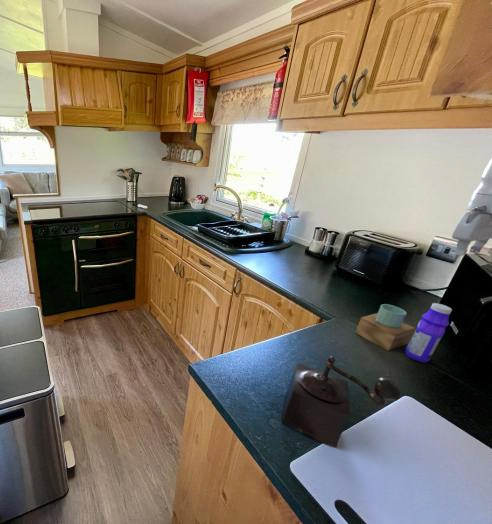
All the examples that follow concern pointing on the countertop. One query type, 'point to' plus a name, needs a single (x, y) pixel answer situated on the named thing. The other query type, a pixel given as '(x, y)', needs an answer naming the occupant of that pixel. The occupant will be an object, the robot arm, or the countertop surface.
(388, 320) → the bowl
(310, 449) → the countertop surface
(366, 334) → the block
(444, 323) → the bottle
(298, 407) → the manual coffee grinder
